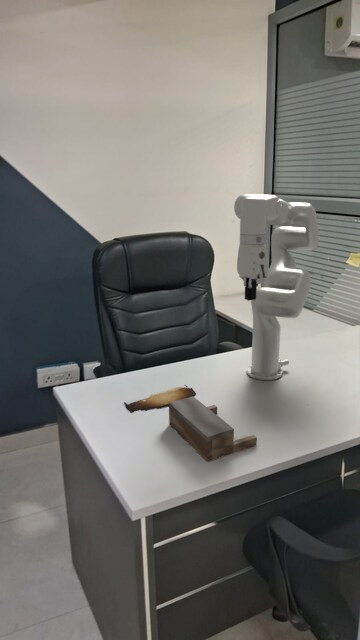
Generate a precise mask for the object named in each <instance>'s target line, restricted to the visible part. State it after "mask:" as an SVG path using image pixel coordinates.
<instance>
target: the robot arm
mask: <svg viewBox="0 0 360 640" xmlns="http://www.w3.org/2000/svg"><path fill="white" fill-rule="evenodd" d="M233 208H234V209H233V210H234V214H235V215H236V217H237V218H238V219H239V220H240V221H239V246H238V249H237V250H238V251H237V260H236V262H237V264H236V271H237V273H238V275H239V278H240V279H241V280H242V281H243V287H244V300H246V301H250V304H251V310H252V341H251V342H252V343H251V344H252V345H251V365H249V366H248V367H247V368H246V373H247V375H248V376H249V377H251V378H252V379H256V380H262V381H273V380H277V379H280V378H281V377H282V376H283V369H282V367H283V366H288V365H289V363H290V362H289V359H283V360H282V358H279V357H280V345H281V325H280V322H279V320H278V318H283V319H297V318H299V317H300V315H301V313H302V312H303V309H304V307H305V304H306V301H307V299H308V298H307V297H308V295H309V293H310V289H311V284H312V283H311V282H312V280H311V274H310V272H309V271H307V270H306V269H302V268H296V267H297V266H296V260H295V259H294V256H293V255H292V254H291V253H290V252H289V251H288V250H290V251H304V252H311V251H315V250H316V249H317V248H318V245H319V242H320V235H319V234H320V233H319V226H318V218H317V213H316V209H315V207H314V206H313V205H312V204H311V203H309V202H288V201H285V200H283V199H281V198H280V197H278V196H276V195H272V194H241V195H239V196H237V198H236V199H235V202H234V204H233ZM267 225H272V226H274V225H275V226H278V227H276V228H275V229H274V230H273V231H272V233H271V241H270V246H271V255H272V256H271V257H272V262H271V264H270V266H269V261H268V260H269V256H268V255H269V254H268V249H267V244H266V234H267V233H266V232H267V231H266V229H267V228H266V227H267ZM260 284H263V287H262V286H261V287H258V286H259V285H260Z"/></svg>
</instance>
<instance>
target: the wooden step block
mask: <svg viewBox="0 0 360 640" xmlns="http://www.w3.org/2000/svg"><path fill="white" fill-rule="evenodd" d="M168 422H169V423H168V424H169V426H170V428H172V429H173V430H174V431H175V432H176V433H177V435H179V436H180V437H181V438H182V439H183V440H184V441H185V442H186V443H187V444H188V445H189V446H190V447H191V448H192V449H193V450H194V451H195V452H196V453H197V454H198V455H199V456H200V457H201V458H203V460H204V461H205V462H207V463H209V462H212V461H215V460H217V459H220V458H223V457H226V456H229V455H231V454H235V453H237V452H238V453H239V452H241V451H244V450H247V449H251V448H252V447H257V444H258V436H256V435H255V434H251V435H248V436H245V437H242V438H239V439H235V437H234V436H235V429H234V427H233V426H231V425H230V424H228V423H227V422H226V421H225V420H223V419H222V418H221V417H220V416H219V415H218V406H217V405H216V404H213V405H209V406H206V405H205V404H203V403H202V402H201V401H200V400H198V399H197V398H196V397H195V396H194V395H192V396H190V397H186V398H184V399H181V400H177V401H173V402H169V404H168ZM234 439H235V440H234Z"/></svg>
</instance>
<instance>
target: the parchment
mask: <svg viewBox="0 0 360 640" xmlns="http://www.w3.org/2000/svg"><path fill="white" fill-rule="evenodd" d="M184 386H185V387H183V386H177V387H173V388H169V389H166V390H163V391H159V392H156V393H152V394H150V395H149V396H148V397H147V398H143V399H139V400H137V401H132V402H131V403H128V404H127V402H126V401H124V405H125V408H126V409H127V410H128V411H130V412H131V413H135V412H139V411H142V412H145V411H149V410H152V409H153V410H155V409H157V410H158V409H159V408H161V407H163V406H167V405H169V402H173V401H177V400H181V399H185V398H189V397H192V396H195V395H197V393H196V391H195V390H194V389H193V387H188V385H186V384H184Z"/></svg>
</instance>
